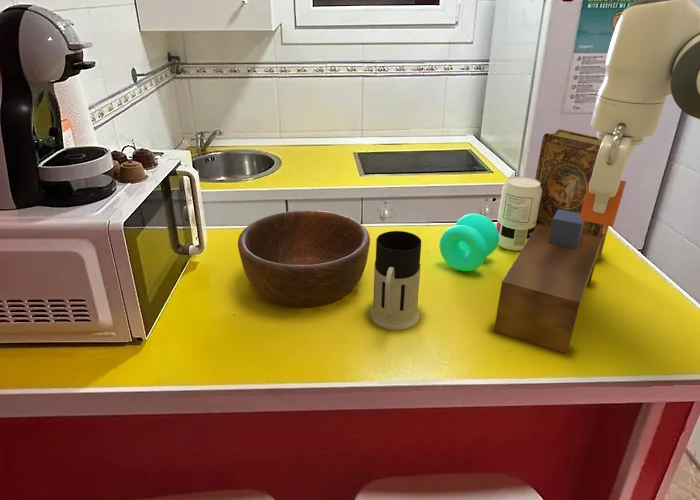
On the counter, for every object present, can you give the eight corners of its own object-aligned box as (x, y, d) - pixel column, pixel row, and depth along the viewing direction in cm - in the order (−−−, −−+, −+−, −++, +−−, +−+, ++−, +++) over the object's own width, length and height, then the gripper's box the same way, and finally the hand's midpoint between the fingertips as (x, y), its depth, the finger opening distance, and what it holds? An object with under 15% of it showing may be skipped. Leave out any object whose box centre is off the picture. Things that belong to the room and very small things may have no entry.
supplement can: (487, 239, 121) (496, 178, 114) (516, 233, 124) (526, 173, 117) (509, 254, 114) (519, 190, 107) (539, 248, 117) (551, 185, 110)
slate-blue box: (580, 238, 99) (586, 214, 96) (576, 248, 95) (582, 224, 93) (553, 232, 101) (558, 208, 99) (548, 242, 97) (553, 218, 95)
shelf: (590, 282, 104) (602, 237, 99) (566, 354, 84) (579, 302, 79) (529, 267, 109) (537, 224, 104) (493, 331, 89) (501, 281, 85)
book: (604, 256, 113) (633, 144, 102) (591, 264, 110) (621, 150, 99) (537, 231, 124) (556, 128, 113) (524, 238, 121) (543, 132, 110)
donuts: (435, 265, 109) (439, 222, 105) (454, 247, 117) (459, 206, 112) (480, 279, 104) (486, 235, 100) (497, 259, 112) (504, 217, 107)
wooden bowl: (253, 329, 89) (248, 277, 84) (234, 262, 110) (229, 218, 105) (388, 303, 96) (390, 255, 92) (345, 245, 117) (345, 203, 113)
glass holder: (422, 305, 96) (428, 232, 89) (411, 352, 84) (417, 272, 77) (375, 298, 98) (378, 226, 91) (358, 344, 86) (359, 265, 79)
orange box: (616, 215, 85) (626, 181, 82) (612, 226, 81) (623, 191, 78) (583, 209, 87) (592, 175, 84) (578, 219, 83) (587, 184, 80)
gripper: (643, 137, 67) (615, 233, 73) (653, 107, 83) (629, 189, 89) (591, 129, 70) (569, 222, 76) (610, 102, 85) (589, 181, 92)
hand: (601, 204), depth 83 cm, fingers closed on orange box, 5 cm apart
